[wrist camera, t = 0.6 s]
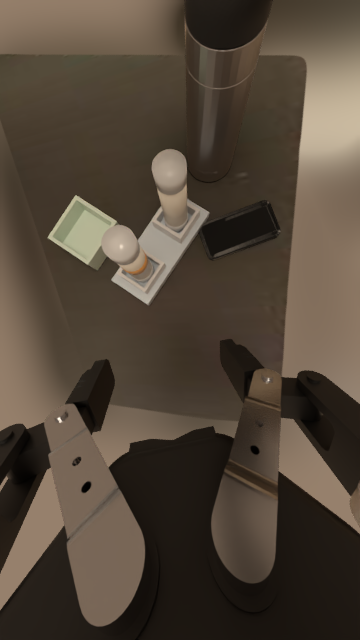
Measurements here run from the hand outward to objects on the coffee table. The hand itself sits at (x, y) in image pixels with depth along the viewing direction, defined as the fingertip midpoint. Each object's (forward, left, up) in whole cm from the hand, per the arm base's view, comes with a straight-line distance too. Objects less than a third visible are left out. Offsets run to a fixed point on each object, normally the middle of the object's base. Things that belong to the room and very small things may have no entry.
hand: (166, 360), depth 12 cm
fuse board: (-17, -7, -23) cm, 30 cm away
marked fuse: (-12, -10, -21) cm, 26 cm away
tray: (-18, -22, -23) cm, 37 cm away
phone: (-23, +8, -23) cm, 34 cm away
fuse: (-23, -5, -21) cm, 32 cm away
